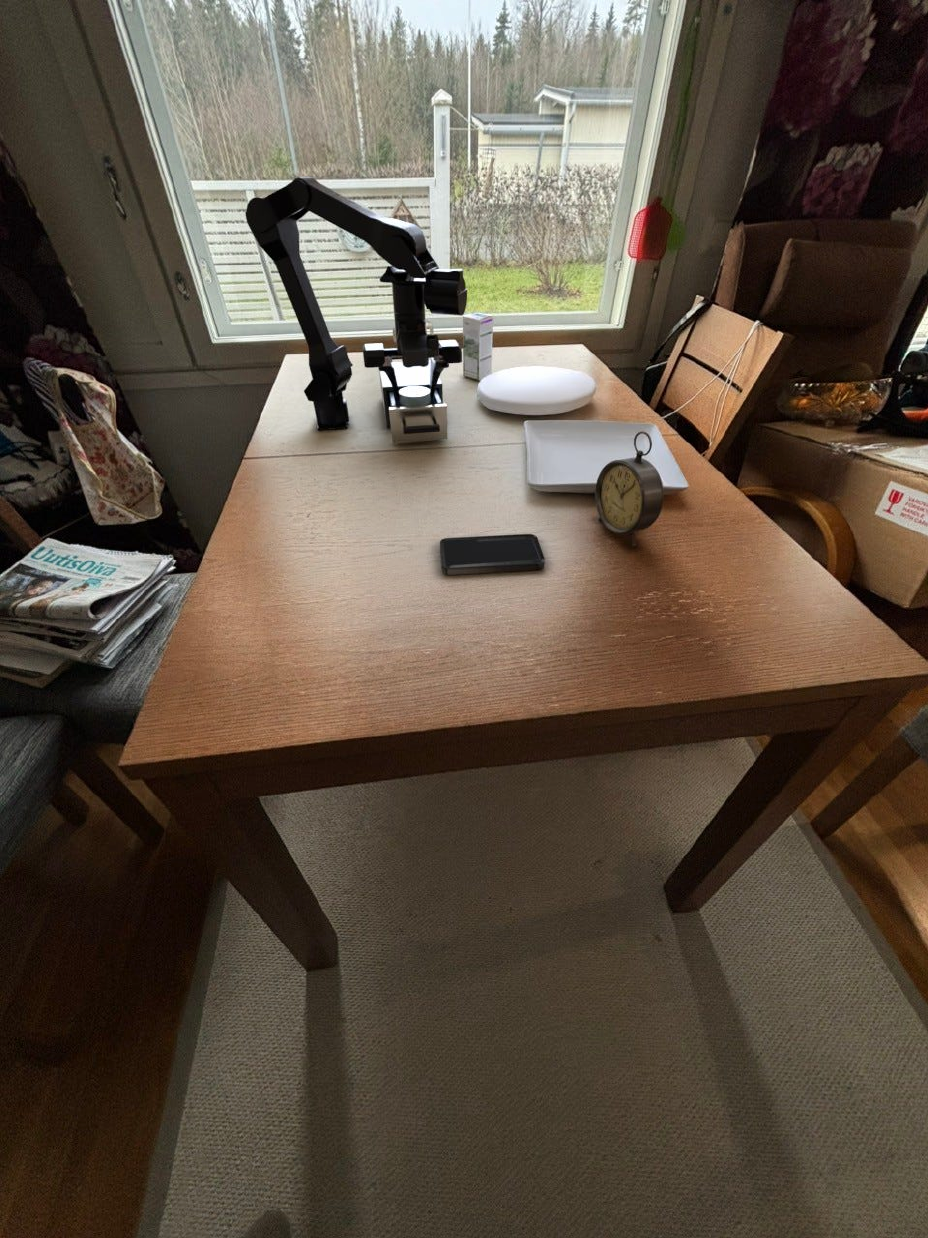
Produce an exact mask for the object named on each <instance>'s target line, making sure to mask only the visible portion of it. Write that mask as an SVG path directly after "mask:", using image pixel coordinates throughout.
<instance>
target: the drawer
mask: <svg viewBox="0 0 928 1238" xmlns="http://www.w3.org/2000/svg"><path fill="white" fill-rule="evenodd" d="M428 389H430V388H428ZM388 393H389V403H390V408H389V415H390V425H391V428H390V435H391V443H392V444H403V443H415V442H416V443H417V442H429V441H445V440H448V439H449V438H448V435H449V434H448V405H447V403H443V404H442V402H441V400H440V397H439V395H438V392H437V390H436V389H435V392H434V396H433V399H431V402H430V403H429V404H428V405H421V406H404V405H402V404H401V403H400V401H398V400H397V397H396V395H395V392H394V391H388Z"/></svg>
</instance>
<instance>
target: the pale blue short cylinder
mask: <svg viewBox="0 0 928 1238" xmlns="http://www.w3.org/2000/svg"><path fill="white" fill-rule="evenodd" d="M399 395H400V403H401V404H402V405H404V406H421V405H428V404H429V403H430V402H431V391H430V389H428V388H426V387H422V386H409V387H405V388H402V389H400V390H399Z"/></svg>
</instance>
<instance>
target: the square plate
mask: <svg viewBox="0 0 928 1238" xmlns="http://www.w3.org/2000/svg"><path fill="white" fill-rule="evenodd" d="M640 431H644V432H646V433H648V434H649V436H650V437H651V440H652V448H651V450H650V452H649V453H648V454H647V455H646V456H642V459H645V460H647V461H648V462H650V463H651V464H652V465H653V466H654V467H655V468H656V470H657V471H658V473H659V475H660V477H661V480H662V483H663V489H664V496H665V495H666V496H667V495H673V494H678V493H680V492H683V491H686V490H687V489H689V488H690V485H689V482H688V481H687V479H686V477H685V475H684V474H683V471H682V470H681V467H680V466H679V464H678V462H677V460H676V459H675V457H674V455H673V453H672V452H671V450H670V448H669V446H668V444H667V442H666V440H665V438H664V436H663V435H662V433H661V431H660V429H659V428H658V426H657V425H656V424H655V423H652V422H635V421H617V420H615V421H614V420H581V419H578V420H575V419H574V420H573V419H571V420H569V419H565V420H564V419H562V420H561V419H557V420H556V419H554V420H552V419H551V420H550V419H549V420H547V419H546V420H525V421H524V422H523V432H524V439H525V447H526V481H527V485H528V486H529V487H530V488H531V489H532V490H535V491H539V492H547V493H568V494H595V490H596V483H597V479H598V477H599V475H600V472H601V471H602V469H603V468H604V467H605V466H606V465H607V464H608V463H610V462H612V461H614V460H622V459H628V458H635V457H636V456H637V455H636V453H637V451H636V450H635V446H634V438H635V436H636V434H637V433H638V432H640ZM636 447H637V450H638V451H640V450H641V451H643V454H645V453H647V452H648V450H649V447H650V443H649V439H648V437H647V436H646V435H645V434H639V435H638V437H637V439H636Z"/></svg>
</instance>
